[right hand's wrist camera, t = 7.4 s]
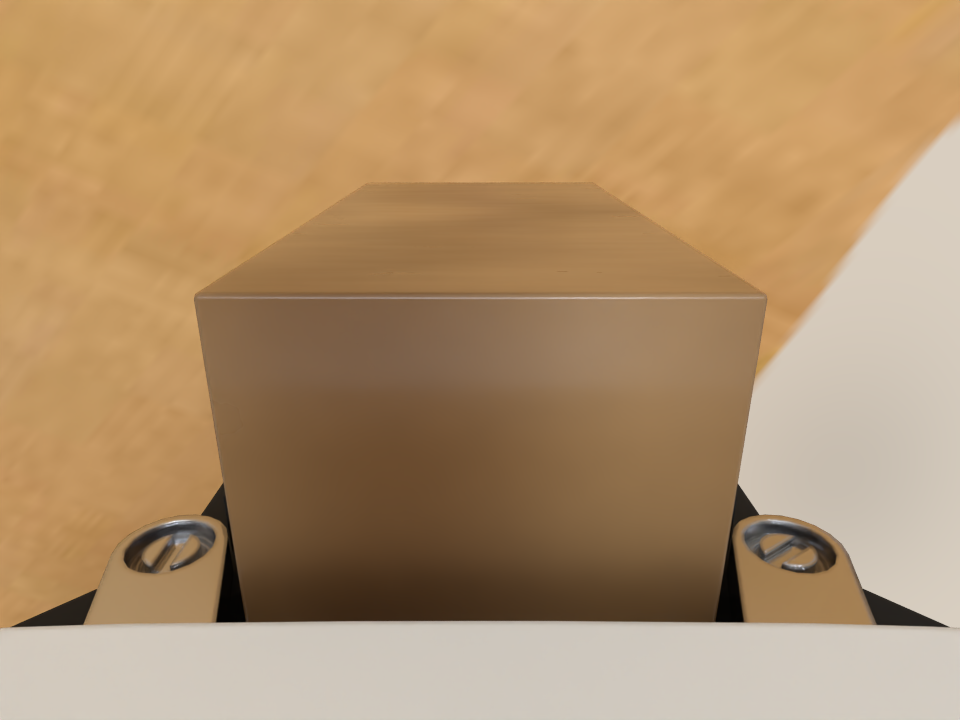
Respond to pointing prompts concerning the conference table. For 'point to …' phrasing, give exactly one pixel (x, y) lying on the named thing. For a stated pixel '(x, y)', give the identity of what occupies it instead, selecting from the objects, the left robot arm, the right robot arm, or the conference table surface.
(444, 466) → the brick
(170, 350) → the conference table surface
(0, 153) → the conference table surface
